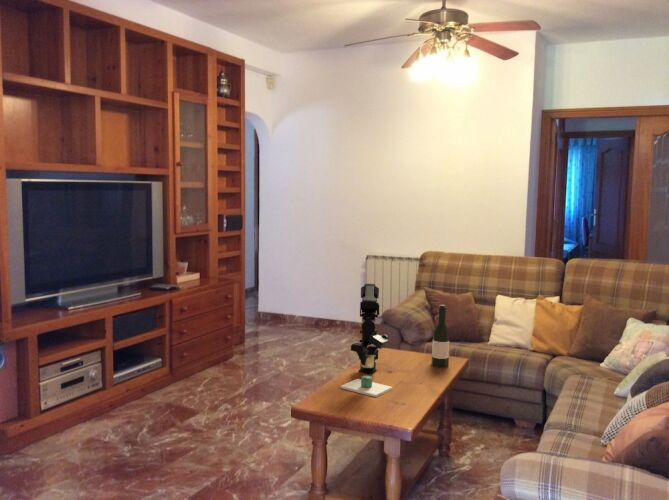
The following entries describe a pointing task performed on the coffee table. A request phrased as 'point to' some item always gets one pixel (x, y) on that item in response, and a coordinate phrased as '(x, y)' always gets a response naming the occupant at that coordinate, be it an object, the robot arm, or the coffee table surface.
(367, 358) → the cap
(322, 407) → the coffee table surface
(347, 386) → the neck block
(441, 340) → the wine bottle
